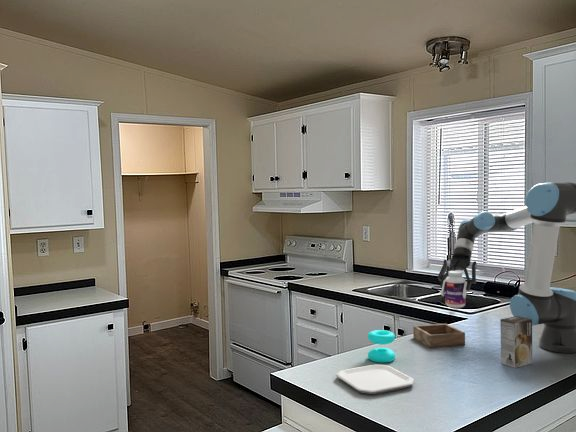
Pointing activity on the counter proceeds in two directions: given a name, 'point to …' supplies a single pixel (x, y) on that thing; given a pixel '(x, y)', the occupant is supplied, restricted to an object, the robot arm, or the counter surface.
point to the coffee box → (516, 341)
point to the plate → (375, 379)
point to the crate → (439, 335)
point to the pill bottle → (454, 289)
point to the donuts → (381, 353)
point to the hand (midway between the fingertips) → (453, 295)
